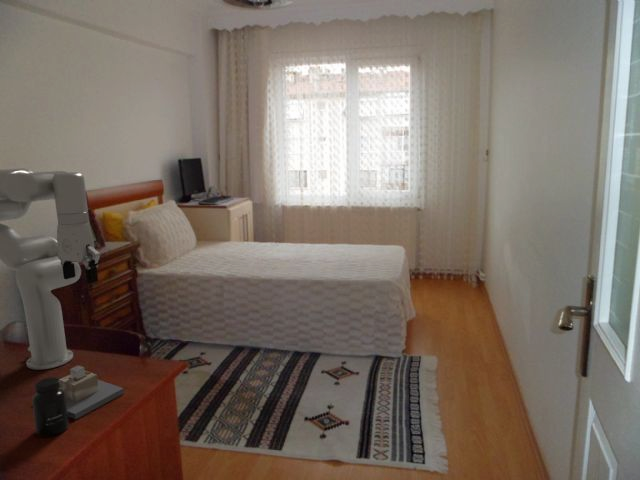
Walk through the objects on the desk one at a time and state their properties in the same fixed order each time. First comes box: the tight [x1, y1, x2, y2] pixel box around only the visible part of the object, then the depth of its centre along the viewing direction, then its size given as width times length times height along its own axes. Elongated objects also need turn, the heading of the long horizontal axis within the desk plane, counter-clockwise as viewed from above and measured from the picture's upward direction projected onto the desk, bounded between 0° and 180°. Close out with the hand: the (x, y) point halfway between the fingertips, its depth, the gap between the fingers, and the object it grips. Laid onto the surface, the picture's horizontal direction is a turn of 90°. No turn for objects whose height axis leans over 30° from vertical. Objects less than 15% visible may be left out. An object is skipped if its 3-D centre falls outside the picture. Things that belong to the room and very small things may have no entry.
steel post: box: [69, 365, 86, 381], centre depth 127 cm, size 2×2×7 cm
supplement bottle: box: [31, 377, 70, 438], centre depth 113 cm, size 7×7×12 cm
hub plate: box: [66, 379, 125, 420], centre depth 127 cm, size 16×14×2 cm
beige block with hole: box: [58, 370, 99, 402], centre depth 127 cm, size 6×6×5 cm
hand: (80, 280), depth 135 cm, fingers open, 9 cm apart
